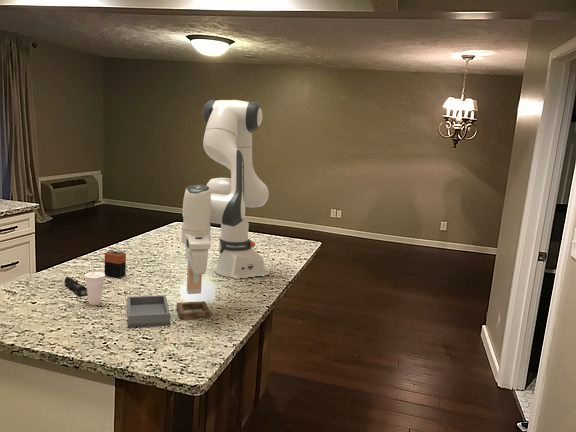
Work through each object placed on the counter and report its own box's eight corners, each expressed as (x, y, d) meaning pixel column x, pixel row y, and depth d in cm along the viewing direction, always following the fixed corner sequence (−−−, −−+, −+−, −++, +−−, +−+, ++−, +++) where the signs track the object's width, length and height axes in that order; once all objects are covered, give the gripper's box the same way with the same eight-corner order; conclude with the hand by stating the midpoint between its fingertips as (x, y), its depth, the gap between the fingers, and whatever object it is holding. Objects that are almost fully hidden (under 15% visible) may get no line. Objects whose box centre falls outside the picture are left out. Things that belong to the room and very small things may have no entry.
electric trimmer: (72, 283, 176) (72, 275, 176) (90, 295, 165) (89, 286, 165) (62, 285, 174) (61, 276, 173) (78, 298, 163) (78, 288, 162)
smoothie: (87, 299, 162) (87, 258, 159) (107, 299, 162) (107, 259, 160) (81, 306, 155) (81, 264, 153) (102, 307, 156) (102, 265, 153)
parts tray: (165, 305, 161) (165, 295, 161) (169, 324, 147) (170, 313, 146) (127, 307, 157) (127, 296, 157) (127, 327, 143) (128, 316, 142)
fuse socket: (205, 306, 163) (205, 301, 162) (209, 318, 154) (210, 312, 153) (176, 308, 159) (176, 302, 159) (179, 319, 151) (179, 313, 150)
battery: (119, 278, 184) (119, 253, 182) (103, 275, 185) (104, 250, 184) (126, 275, 188) (126, 250, 186) (110, 272, 190) (110, 248, 188)
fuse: (199, 289, 158) (200, 259, 156) (201, 293, 154) (202, 263, 152) (186, 289, 157) (187, 259, 155) (188, 294, 153) (189, 263, 151)
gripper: (181, 229, 161) (180, 269, 163) (190, 245, 142) (188, 290, 144) (200, 229, 163) (199, 269, 165) (211, 245, 144) (209, 289, 146)
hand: (194, 279), depth 155 cm, fingers closed on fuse, 4 cm apart
